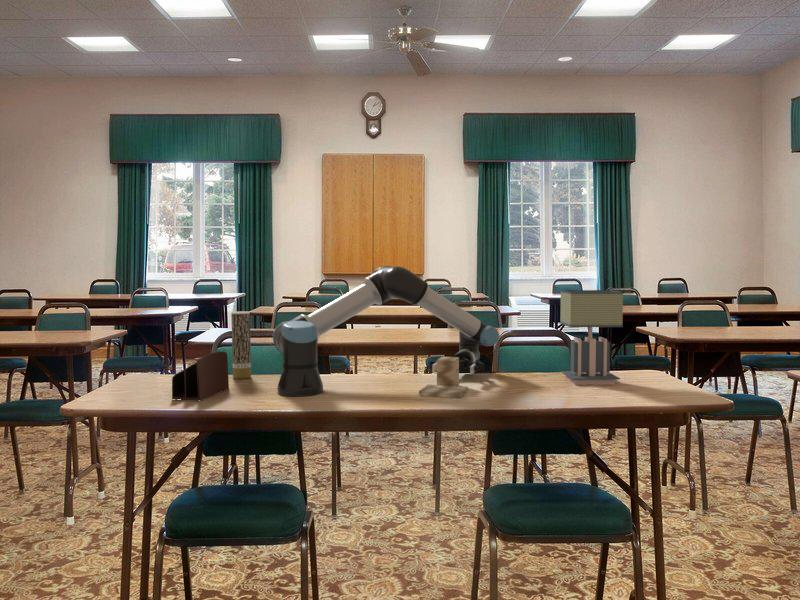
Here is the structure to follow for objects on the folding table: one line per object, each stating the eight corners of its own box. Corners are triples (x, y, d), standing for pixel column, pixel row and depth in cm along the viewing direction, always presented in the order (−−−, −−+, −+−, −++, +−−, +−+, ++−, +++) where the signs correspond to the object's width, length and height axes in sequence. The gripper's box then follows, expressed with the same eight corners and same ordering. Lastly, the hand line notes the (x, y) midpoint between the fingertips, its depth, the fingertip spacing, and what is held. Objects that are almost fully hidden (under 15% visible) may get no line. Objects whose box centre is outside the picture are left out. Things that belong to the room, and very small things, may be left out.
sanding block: (436, 388, 214) (436, 360, 213) (442, 384, 221) (442, 356, 221) (453, 389, 212) (453, 360, 211) (458, 385, 219) (458, 357, 219)
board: (418, 395, 203) (418, 390, 203) (427, 388, 214) (427, 384, 214) (461, 398, 199) (461, 393, 199) (467, 391, 209) (467, 386, 209)
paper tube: (231, 377, 237) (229, 311, 236) (248, 375, 241) (247, 311, 239) (235, 380, 231) (233, 313, 230) (253, 378, 235) (251, 312, 233)
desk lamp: (608, 377, 232) (609, 290, 230) (622, 385, 218) (623, 292, 216) (559, 377, 232) (560, 290, 230) (569, 385, 218) (570, 292, 216)
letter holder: (229, 389, 216) (228, 348, 215) (200, 402, 197) (198, 357, 196) (203, 388, 218) (201, 348, 217) (171, 400, 199) (170, 357, 198)
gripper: (496, 371, 236) (487, 382, 215) (432, 368, 243) (417, 378, 223) (496, 351, 235) (487, 360, 215) (432, 349, 242) (417, 357, 222)
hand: (452, 369), depth 219 cm, fingers open, 13 cm apart
